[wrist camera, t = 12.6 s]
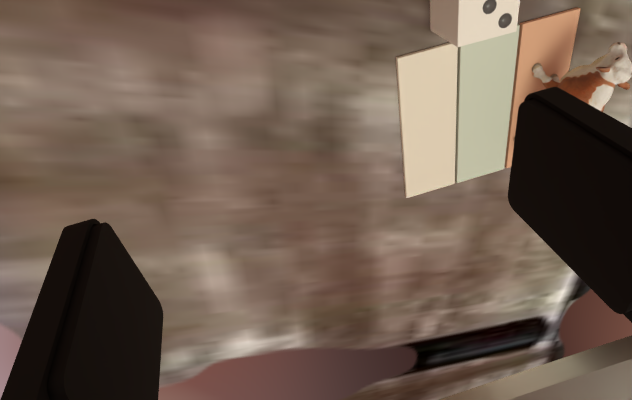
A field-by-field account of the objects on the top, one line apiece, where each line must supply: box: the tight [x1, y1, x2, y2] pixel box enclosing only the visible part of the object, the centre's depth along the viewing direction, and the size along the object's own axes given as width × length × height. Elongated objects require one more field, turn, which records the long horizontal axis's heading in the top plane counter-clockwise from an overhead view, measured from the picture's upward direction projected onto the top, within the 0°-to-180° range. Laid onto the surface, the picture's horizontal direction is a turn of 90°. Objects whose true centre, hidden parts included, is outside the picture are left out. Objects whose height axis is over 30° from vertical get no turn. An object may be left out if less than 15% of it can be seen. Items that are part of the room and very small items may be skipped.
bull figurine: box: [514, 42, 632, 140], centre depth 41 cm, size 4×13×8 cm, turn 178°
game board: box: [396, 7, 581, 198], centre depth 44 cm, size 16×18×1 cm
